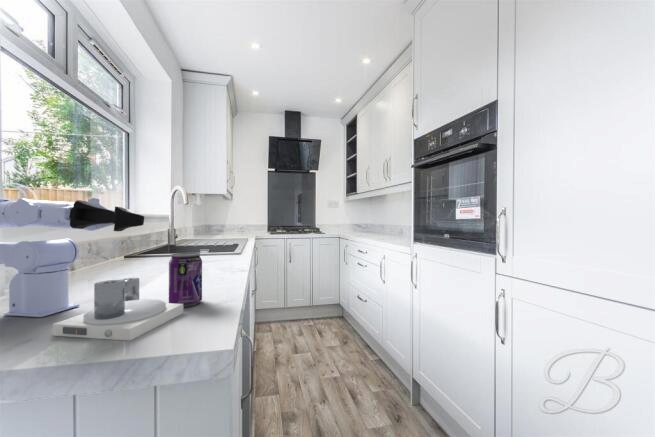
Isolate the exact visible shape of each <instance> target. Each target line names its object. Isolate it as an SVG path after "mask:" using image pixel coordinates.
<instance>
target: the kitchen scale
mask: <svg viewBox="0 0 655 437" xmlns="http://www.w3.org/2000/svg"><path fill="white" fill-rule="evenodd" d="M183 314H184V307H183V304H175V303H169V302H165V301H163V300H160V299H143V298H142V299H139V300H131V301H125V314H124V315H122V316H120V317H116V318H112V319H105V320H97V319H94V308H92V309H90V310H88V311H87V312H84V313H81V314H78V315H75V316H72V317H69V318H66V319H64V320H61V321H57V322H54V323H52V336H54V337H55V336H56V337H57V336H58V337H68V338H70V337H71V338H86V339H99V340H111V341H112V340H115V341H132V340H134V339H137V338H138V337H140V336H142V335H144V334H146V333H148V332H150V331H151V330H153V329H155V328H157V327H159V326H161V325H163V324H165V323H168V322H169V321H172V320H173V319H175V318H176V317H179V316H180V315H183Z"/></svg>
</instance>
